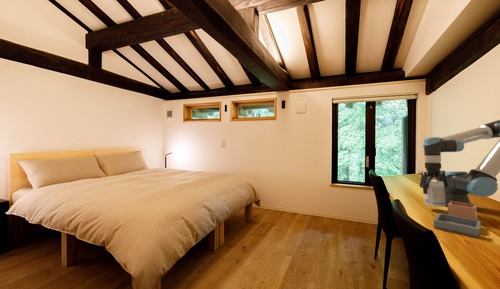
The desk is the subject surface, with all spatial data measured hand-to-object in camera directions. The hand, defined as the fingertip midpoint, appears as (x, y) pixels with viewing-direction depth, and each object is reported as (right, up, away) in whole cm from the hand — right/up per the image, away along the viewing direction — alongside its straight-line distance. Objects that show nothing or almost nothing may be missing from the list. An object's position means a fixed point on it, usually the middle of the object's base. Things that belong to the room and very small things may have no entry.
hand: (434, 198), depth 124 cm
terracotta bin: (+2, -8, -15) cm, 17 cm away
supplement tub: (0, -4, 0) cm, 4 cm away
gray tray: (-11, -8, -24) cm, 28 cm away
